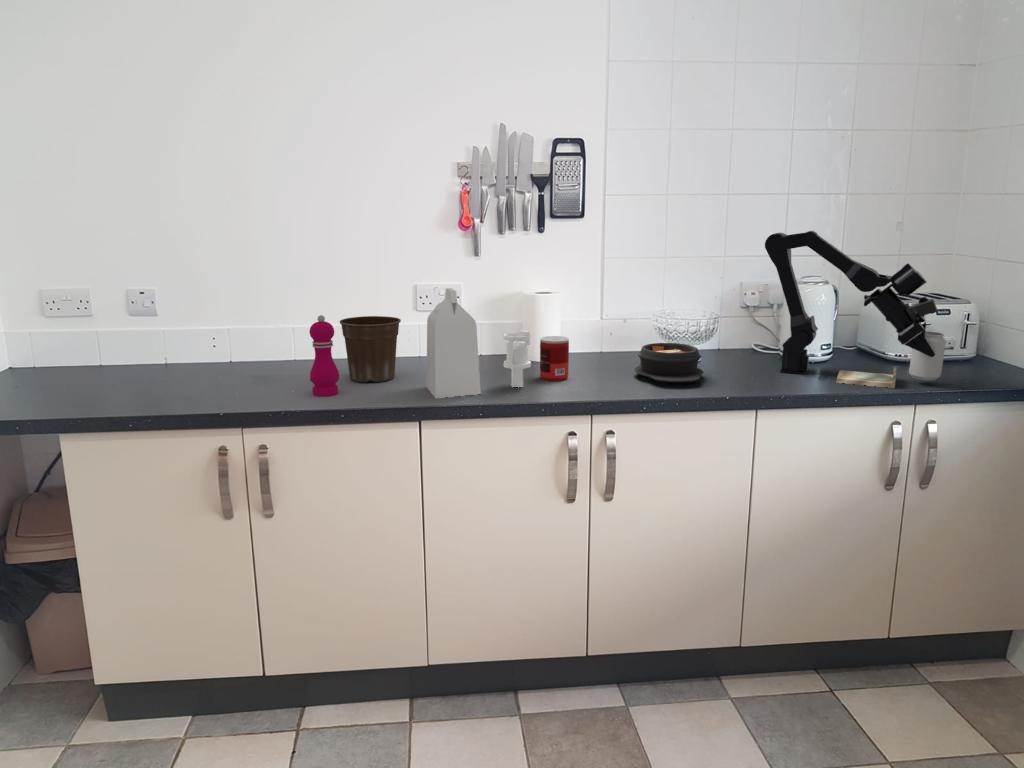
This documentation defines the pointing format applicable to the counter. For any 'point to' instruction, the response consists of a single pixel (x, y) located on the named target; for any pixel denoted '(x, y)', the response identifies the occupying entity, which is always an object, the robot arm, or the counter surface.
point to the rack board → (867, 378)
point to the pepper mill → (323, 359)
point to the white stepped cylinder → (517, 355)
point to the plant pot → (371, 347)
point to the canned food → (554, 358)
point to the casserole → (669, 362)
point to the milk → (452, 350)
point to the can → (928, 358)
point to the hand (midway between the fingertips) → (933, 353)
